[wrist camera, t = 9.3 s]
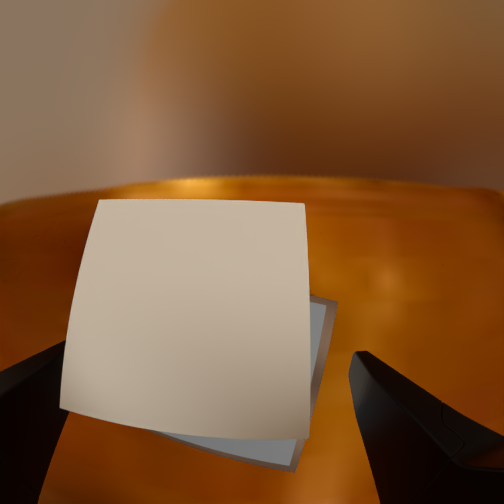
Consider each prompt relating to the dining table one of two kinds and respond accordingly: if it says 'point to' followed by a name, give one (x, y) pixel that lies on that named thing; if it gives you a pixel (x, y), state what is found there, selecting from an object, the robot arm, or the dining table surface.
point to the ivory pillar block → (193, 319)
